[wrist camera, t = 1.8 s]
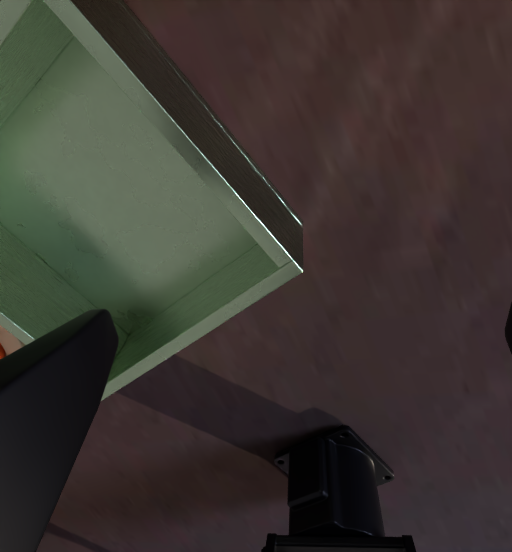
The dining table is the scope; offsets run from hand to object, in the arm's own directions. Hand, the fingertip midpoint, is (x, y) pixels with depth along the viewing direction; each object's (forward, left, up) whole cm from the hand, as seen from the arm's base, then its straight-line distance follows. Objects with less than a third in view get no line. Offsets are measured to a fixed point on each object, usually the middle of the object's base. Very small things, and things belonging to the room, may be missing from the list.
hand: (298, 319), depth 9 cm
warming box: (+4, +8, -12) cm, 15 cm away
